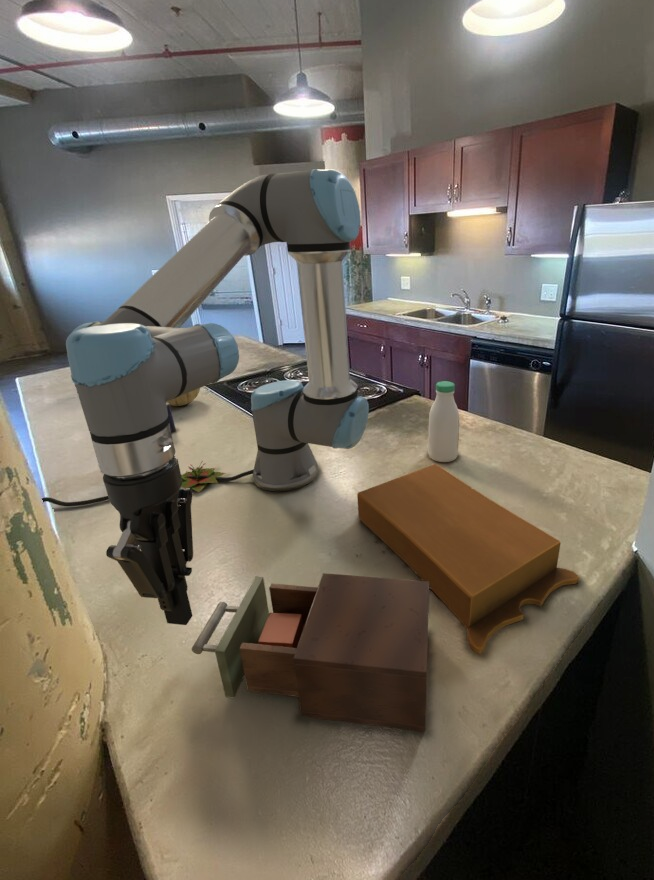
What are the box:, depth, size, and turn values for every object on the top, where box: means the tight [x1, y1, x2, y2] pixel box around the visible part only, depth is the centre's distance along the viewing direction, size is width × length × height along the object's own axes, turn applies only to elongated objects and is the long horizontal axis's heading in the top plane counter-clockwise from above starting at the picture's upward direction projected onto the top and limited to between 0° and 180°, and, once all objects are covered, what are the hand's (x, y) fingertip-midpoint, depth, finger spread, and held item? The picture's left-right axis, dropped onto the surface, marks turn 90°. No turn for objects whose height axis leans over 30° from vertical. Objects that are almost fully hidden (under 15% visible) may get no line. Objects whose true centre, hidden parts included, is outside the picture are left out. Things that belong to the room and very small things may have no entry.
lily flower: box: [181, 460, 227, 493], centre depth 99 cm, size 12×12×5 cm
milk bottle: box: [427, 380, 460, 463], centre depth 105 cm, size 8×8×20 cm
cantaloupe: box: [166, 388, 201, 407], centre depth 145 cm, size 15×15×15 cm
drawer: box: [191, 575, 318, 699], centre depth 54 cm, size 18×12×8 cm, turn 83°
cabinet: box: [293, 572, 430, 732], centre depth 53 cm, size 15×13×10 cm
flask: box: [166, 403, 177, 434], centre depth 126 cm, size 9×3×11 cm, turn 71°
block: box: [258, 612, 303, 648], centre depth 54 cm, size 4×4×4 cm
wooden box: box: [356, 463, 580, 654], centre depth 75 cm, size 23×6×35 cm
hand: (180, 619), depth 55 cm, fingers closed
